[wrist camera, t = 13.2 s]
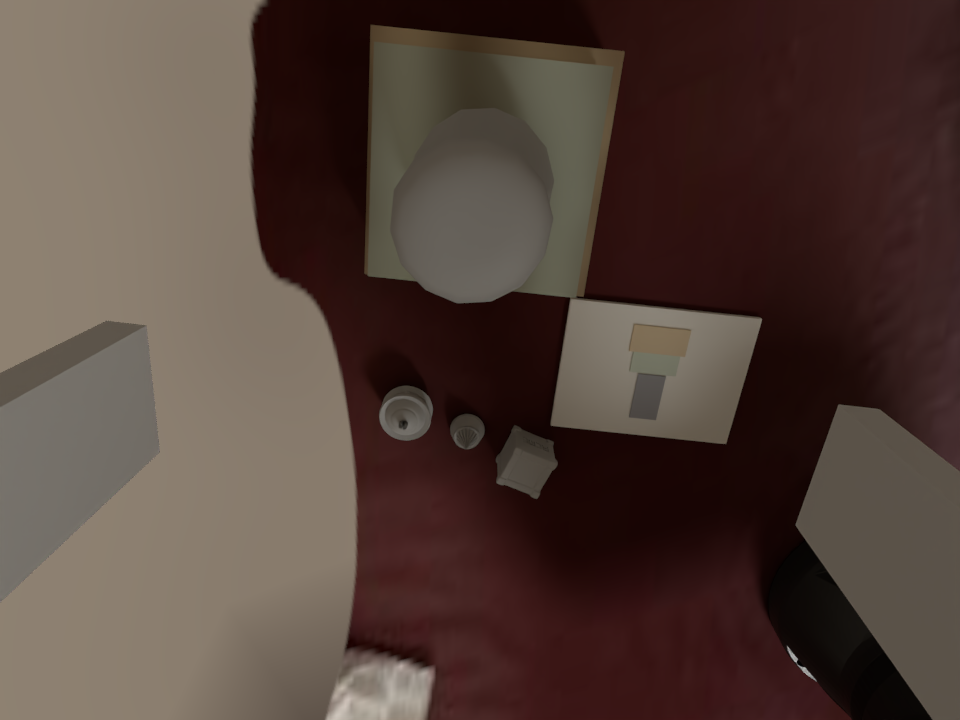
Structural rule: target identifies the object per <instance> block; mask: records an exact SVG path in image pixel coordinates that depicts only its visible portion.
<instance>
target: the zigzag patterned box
mask: <svg viewBox="0 0 960 720" xmlns="http://www.w3.org/2000/svg"><path fill="white" fill-rule="evenodd" d="M624 53H625V51H616V50H607V49H597V48H588V47H578V46H569V45H559V44H549V43H540V42H530V41H521V40H511V39H502V38H492V37H483V36H473V35H464V34H454V33H444V32H435V31H425V30H416V29H406V28H397V27H387V26H378V25H371V29H370V69H369V110H368V150H367V191H366V231H365V272H364V274H368V276H371V277H381V278H390V279H400V280H409V281H416V280H415V279H414V278H413V277H412V275H411V274H410V273H409V272H408V271H407V270H406V269H405V268H404V267H403V266H402V265H401V263H400V260H399V257H398V254H397V250H396V247H395V244H394V241H393V238H392V235H391V232H390V224H391V214H392V204H393V194H394V189H395V188H396V186H397V184H398V183H399V181H400V180H401V178H402V177H403V175H404V174H405V172H406V171H407V169H408V168H409V166H410V164H411V163H412V161H413V160H414V156H415V154H416V152H417V151H418V149H419V148H420V146H421V145H422V143H423V142H424V140H425V139H426V137H427V136H428V134H429V133H430V131H431V130H432V128H433V127H434V126H436V125H437V124H439V123H441V122H442V121H444V120H445V119H447V118H449V117H450V116H452V115H453V114H455V113H456V112H458V111H460V110H461V109H482V108H496V109H499V110H501V111H503V112H505V113H508V114H510V115H512V116H514V117H517V118H519V119H521V120H524V121H526V123H527V124H528V125H529V126H530V128H531V129H532V130H533V131H534V133H535V134H536V135H537V136H538V138H539V139H540V140H541V141H542V143H543V144H544V145H545V147H546V148H547V152H548V156H549V160H550V164H551V169H552V173H553V177H554V184H553V189H552V194H551V198H550V207H551V211H552V215H553V223H552V227H551V232H550V236H549V240H548V245H547V249H546V254H545V256H544V257H543V259H542V260H541V261H540V263H539V264H538V265H537V267H536V268H535V269H534V271H533V272H532V273H531V275H530V276H529V277H528V279H527V280H526V281H525V283H524V284H523V285H522V286H521V287H519V288H517V289H515V290H513V291H514V292H524V293H533V294H543V295H552V296H562V297H571V298H576V296H581V297H584V291H585V285H586V279H587V273H588V267H589V261H590V256H591V250H592V244H593V238H594V232H595V226H596V220H597V214H598V208H599V202H600V196H601V190H602V184H603V178H604V172H605V166H606V160H607V154H608V148H609V142H610V137H611V131H612V125H613V119H614V113H615V107H616V101H617V95H618V89H619V83H620V77H621V71H622V65H623V59H624Z"/></svg>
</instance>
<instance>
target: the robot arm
mask: <svg viewBox="0 0 960 720" xmlns="http://www.w3.org/2000/svg"><path fill="white" fill-rule="evenodd" d="M156 422H157V421H156V412H155V402H154V393H153V383H152V374H151V365H150V355H149V345H148V336H147V327H146V325H137V324H129V323H120V322H111V321H105V322H103V323H101V324H99V325H97V326H95V327H93V328H91V329H89V330H87V331H85V332H83V333H81V334H79V335H77V336H75V337H73V338H71V339H69V340H67V341H65V342H63V343H61V344H58V345H56V346H54V347H52V348H50V349H48V350H46V351H45V352H42V353H40V354H38V355H36V356H34V357H32V358H30V359H28V360H26V361H24V362H22V363H20V364H18V365H16V366H14V367H12V368H10V369H8V370H6V371H4V372H2V373H0V602H1V601H2V600H3V599H4V598H5V597H6V596H7V595H9V594H10V593H11V592H12V591H13V590H14V589H15V588H16V587H17V586H18V585H19V584H20V583H21V582H22V581H23V580H25V579H26V578H27V577H28V576H29V575H30V574H31V573H32V572H33V571H34V570H35V569H36V568H37V567H38V566H39V565H40V564H41V563H42V562H44V561H45V560H46V559H47V558H48V557H49V556H50V555H51V554H52V553H53V552H54V551H55V550H56V549H57V548H58V547H60V546H61V545H62V544H63V543H64V542H65V541H66V540H67V539H68V538H69V537H70V536H71V535H72V534H73V533H74V532H75V531H77V530H78V529H79V528H80V527H81V526H82V525H83V524H84V523H85V522H86V521H87V520H88V519H89V518H90V517H91V516H92V515H94V514H95V512H97V511H98V510H99V509H100V508H101V507H102V506H103V505H104V504H105V503H106V502H107V501H108V500H109V499H111V497H113V496H114V495H115V494H116V493H117V492H118V491H119V490H120V489H121V488H122V487H123V486H124V485H125V484H126V483H127V482H128V481H130V479H132V478H133V477H134V476H135V475H136V474H137V473H138V472H139V471H140V470H141V469H142V468H143V467H144V466H145V465H147V464H148V463H149V461H151V460H152V459H153V458H154V457H155V456H156V455H157V454H158V453H159V452H160V451H159V440H158V431H157V423H156ZM795 526H796V527H797V528H798V530H799V531H800V533H801V534H802V536H803V537H804V538H805V540H806V541H805V542H803V543H802V544H801V545H800V546H799V547H797V548H796V549H795V550H794V551H793V552H792V553H791V554H790V555H789V557H788V558H787V559H786V560H785V561H784V563H783V564H782V566H781V567H780V569H779V570H778V572H777V574H776V576H775V578H774V580H773V583H772V585H771V589H770V593H769V600H768V609H769V616H770V620H771V623H772V626H773V628H774V630H775V632H776V634H777V636H778V638H779V639H780V641H781V643H782V645H783V647H784V649H785V651H786V652H787V654H788V655H789V657H790V658H791V659H792V661H793V662H794V663H795V664H796V665H797V666H798V667H799V668H800V669H801V670H802V671H803V672H804V673H805V674H807V675H808V676H809V677H811V678H812V679H814V680H815V681H817V682H818V683H819V685H820V686H821V687H822V689H823V690H824V691H825V692H826V693H827V694H828V695H829V696H830V697H831V699H832V700H833V701H834V702H835V703H836V704H837V705H838V706H840V707H841V708H842V709H843V710H844V711H845V712H846V713H847V714H848V715H849V716H850V717H851V719H852V720H960V472H959V471H958V470H957V469H956V468H954V467H953V466H952V465H950V464H949V463H948V462H947V461H945V460H944V459H943V458H941V457H940V456H939V455H938V454H936V453H935V452H934V451H932V450H931V449H930V448H929V447H927V446H926V445H925V444H923V443H922V442H921V441H920V440H918V439H917V438H916V437H914V436H913V435H912V434H911V433H909V432H908V431H907V430H905V429H904V428H903V427H902V426H900V425H899V424H898V423H896V422H895V421H894V420H893V419H891V418H890V417H889V416H887V415H886V414H885V413H884V412H882V411H881V410H880V409H875V408H866V407H857V406H848V405H838V407H837V410H836V413H835V416H834V418H833V421H832V424H831V427H830V430H829V432H828V435H827V438H826V441H825V444H824V446H823V449H822V452H821V455H820V458H819V460H818V463H817V466H816V469H815V472H814V474H813V477H812V480H811V483H810V486H809V488H808V491H807V494H806V497H805V499H804V502H803V505H802V508H801V511H800V513H799V516H798V519H797V522H796V525H795Z"/></svg>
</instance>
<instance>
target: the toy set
mask: <svg viewBox="0 0 960 720" xmlns="http://www.w3.org/2000/svg"><path fill="white" fill-rule="evenodd" d="M432 413H433V406H432V403H431V400H430V398H429V396H428V395H427V394H426V393H425V392H423V391H422V390H420V389H419V388H416V387H413V386H400V387H397V388H394V389H393V390H391V391H390V392H389V393H388V394H387V395H386V396H385V398H384V400H383V403H382V406H381V408H380V411H379V419H380V423H381V426H382V427H383V429H384V430H385V431H386V433H387V434H389V435H390V436H392V437H394V438H396V439H399V440H405V441H406V440H413V439H416V438H419V437H421V436H422V435H424V433H425V432H426V431H427V430H428V428H429V427H430V423H431V417H432ZM484 432H485V428H484V424H483V422H482V421H481V419H480V418H478V417H477V416H475V415H472V414H462V415H459V416H458V417H456V418H455V419H454V420H453V421H452V423H451V426H450V433H451V436H452V438H453V439H454V442H455V443H456V444H457V445H458V446H459V447H461V448H463V449H471V448H474V447H475V446H477V445H478V443H479V441H480V440H481V439H482V438H483V436H484ZM553 445H554V442H553V441H551V440H548V439H544V438H541V437H539V436H537V435H534V434H532V433H529V432H527V431H525V430H522V429H521V428H520V427H518V426H516V425H514V426H513V428H512V430H511V434H510V436H509V438H508V440H507V442H506V443H505V445H504V447H503V449H502V451H501V453H500V454H498V455H497V457H496V463H497V471H498V476H497V478H496V483H497V484H500V485H507V486H509V487H512V488H514V489H517V490H519V491H522V492H524V493H527V494H529V495H530V496H531V497H533V498H535V499H538V497H539V495H540V491H541V489H542V487H543V485H544V484H545V482H546V480H547V479H548V477H549V475H550V474H551V472H552V470H555V468H556V467H557V465H558V462H557V460H555V455H554V450H553Z"/></svg>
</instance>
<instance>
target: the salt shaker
mask: <svg viewBox="0 0 960 720" xmlns="http://www.w3.org/2000/svg"><path fill="white" fill-rule="evenodd" d="M553 184H554V177H553V173H552V169H551V164H550V160H549V156H548V152H547V148H546V147H545V145H544V144H543V143H542V141H541V140H540V139H539V138H538V136H537V135H536V134H535V133H534V131H533V130H532V129H531V128H530V126H529V125H528V124H527V123H526V121H524V120H521V119H519V118H517V117H514V116H512V115H510V114H508V113H505V112H503V111H501V110H499V109H496V108H482V109H461V110H460V111H458V112H456V113H455V114H453V115H452V116H450V117H449V118H447V119H445V120H444V121H442V122H441V123H439V124H437V125H436V126H434V127H433V128H432V130H431V131H430V133H429V134H428V136H427V137H426V139H425V140H424V142H423V143H422V145H421V146H420V148H419V149H418V151H417V152H416V154H415V156H414V160H413V161H412V163H411V164H410V166H409V168H408V169H407V171H406V172H405V174H404V175H403V177H402V178H401V180H400V181H399V183H398V184H397V186H396V188H395V189H394V194H393V204H392V214H391V224H390V232H391V235H392V238H393V241H394V244H395V247H396V250H397V254H398V257H399V260H400V263H401V265H402V266H403V267H404V268H405V269H406V270H407V271H408V272H409V273H410V274H411V275H412V277H413V278H414V279H415V280H416V281H417V282H418V283H419V284H420V285H421V286H422V287H423V288H424V289H425V290H427V291H429V292H431V293H434V294H436V295H439V296H441V297H443V298H446V299H448V300H450V301H453V302H455V303H474V302H491V301H493V300H495V299H497V298H499V297H501V296H503V295H505V294H507V293H509V292H511V291H513V290H515V289H517V288H519V287H521V286H522V285H523V284H524V283H525V281H526V280H527V279H528V277H529V276H530V275H531V273H532V272H533V271H534V269H535V268H536V267H537V265H538V264H539V263H540V261H541V260H542V259H543V257H544V256H545V254H546V249H547V245H548V240H549V236H550V232H551V227H552V223H553V215H552V211H551V207H550V198H551V194H552V189H553Z"/></svg>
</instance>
